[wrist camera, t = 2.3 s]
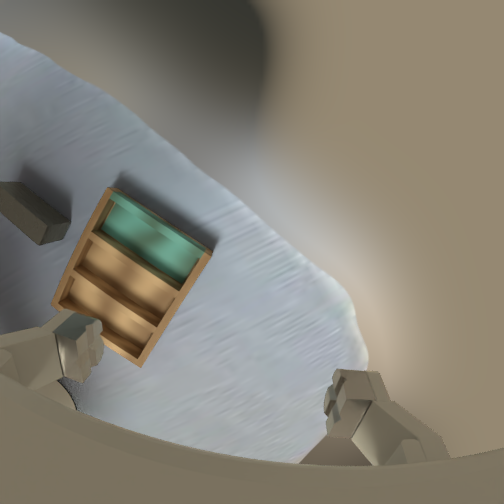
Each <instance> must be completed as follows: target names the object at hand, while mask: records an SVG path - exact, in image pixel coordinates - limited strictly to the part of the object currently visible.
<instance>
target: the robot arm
mask: <svg viewBox="0 0 504 504" xmlns="http://www.w3.org/2000/svg"><path fill="white" fill-rule="evenodd" d="M102 331H103V329H102V322H101V321H100V320H99V319H96V318H93V317H90V316H87V315H84V314H81V313H78V312H75V311H72V310H69V309H63V310H62V311H60V312H59V313H58V314H57V315H55V316H54V317H53V318H52V319H51V320H49V321H48V322H47V323H46V324H45V325H43V326H42V327H41V328H40V327H34V328H29V329H25V330H21V331H16V332H12V333H7V334H3V335H0V504H504V448H500V449H497V450H492V451H488V452H484V453H479V454H474V455H469V456H463V457H457V458H450V456H449V453H448V451H447V449H446V446H445V444H444V442H443V440H442V438H441V436H440V435H438V434H437V433H436V432H434V431H433V430H432V429H430V428H429V427H428V426H426V425H425V424H424V423H422V422H421V421H420V420H418V419H417V418H416V417H414V416H413V415H412V414H410V413H409V412H408V411H407V410H405V409H404V408H403V407H401V406H400V405H399V404H397V403H396V402H395V401H391V400H390V398H389V395H388V393H387V390H386V388H385V385H384V383H383V380H382V378H381V375H380V373H378V372H377V371H357V370H346V369H336V370H335V372H334V374H333V377H332V380H333V384H332V385H331V386H330V387H328V389H327V392H326V394H325V399H324V413H325V414H326V415H327V416H328V419H327V421H326V428H327V435H328V436H329V437H340V438H352V441H353V442H354V443H355V445H356V446H357V447H358V448H359V449H360V451H361V452H362V453H363V454H364V455H365V457H366V458H367V459H368V460H369V461H370V462H371V463H372V465H373V466H325V465H306V464H293V463H282V462H273V461H265V460H257V459H250V458H243V457H237V456H231V455H226V454H220V453H215V452H210V451H205V450H201V449H196V448H192V447H188V446H183V445H179V444H175V443H172V442H168V441H164V440H161V439H157V438H154V437H150V436H147V435H143V434H140V433H137V432H134V431H131V430H128V429H125V428H122V427H119V426H116V425H113V424H110V423H107V422H105V421H102V420H99V419H97V418H94V417H91V416H89V415H86V414H84V413H81V412H79V411H77V410H76V408H75V405H74V403H73V401H72V399H71V397H70V395H69V394H68V392H67V391H66V390H65V389H64V387H63V386H62V385H61V384H60V383H59V382H58V381H57V380H58V379H60V378H62V377H63V376H65V377H67V378H70V379H73V380H75V381H78V382H81V383H84V381H85V380H86V379H87V377H88V376H89V375H90V374H91V367H93V366H96V365H98V363H99V362H100V360H101V358H102V355H103V351H104V341H103V340H102V338H101V336H100V335H99V334H100V333H101V332H102Z"/></svg>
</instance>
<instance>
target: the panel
mask: <svg viewBox="0 0 504 504" xmlns="http://www.w3.org/2000/svg"><path fill="white" fill-rule="evenodd" d="M0 212H1V213H2V214H3V215H4V216H5V217H7V218H8V219H9V220H10V221H11V222H12V223H13V224H14V225H15V226H17V227H18V228H19V229H20V230H21V231H22V232H23V233H25V234H26V235H27V236H28V237H29V238H30V239H32V240H33V241H34V242H35V243H36V244H38V245H39V246H40V245H43V244H47V243H50V242H54V241H58V240H62V239H63V238H64V236H65V234H66V232H67V230H68V228H69V225H70V223H71V221H69V220H68V219H67V218H65V217H64V216H63V215H62V214H60V213H59V212H58V211H56V210H55V209H54V208H52V207H51V206H50V205H49V204H47V203H46V202H45V201H44V200H42V199H41V198H40V197H38V196H37V195H36V194H35V193H34V192H32V191H31V190H30V189H29V188H27V187H26V186H25V185H24V184H22V183H21V182H0Z"/></svg>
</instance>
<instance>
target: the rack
mask: <svg viewBox="0 0 504 504" xmlns="http://www.w3.org/2000/svg"><path fill="white" fill-rule="evenodd" d="M212 253H213V251H211V250H210V249H208V248H207V247H205V246H204V245H202V244H201V243H199V242H198V241H196V240H195V239H193V238H192V237H190V236H189V235H187V234H185V233H184V232H182V231H181V230H179V229H178V228H176V227H175V226H173V225H172V224H170V223H169V222H167V221H166V220H164V219H163V218H161V217H160V216H158V215H157V214H155V213H154V212H152V211H151V210H149V209H148V208H146V207H145V206H143V205H142V204H140V203H139V202H137V201H136V200H134V199H133V198H131V197H130V196H128V195H127V194H125V193H124V192H123V191H121V190H120V189H118V188H109V187H107V189H106V191H105V192H104V194H103V196H102V198H101V199H100V201H99V203H98V205H97V207H96V209H95V210H94V212H93V214H92V216H91V218H90V220H89V222H88V224H87V226H86V228H85V230H84V232H83V234H82V236H81V238H80V240H79V242H78V244H77V246H76V248H75V250H74V252H73V254H72V256H71V258H70V261H69V263H68V265H67V267H66V269H65V272H64V274H63V276H62V278H61V281H60V283H59V285H58V288H57V290H56V293H55V295H54V298H53V300H52V303H51V305H52V306H53V307H54V308H55V309H57V310H58V311H59V312H60V311H62V310H63V309H69V310H72V311H75V312H78V313H81V314H84V315H87V316H90V317H93V318H96V319H99V320H100V321H101V322H102V329H103V331H102V332H101V333H100V334H99V335H100V336H101V338H102V340H103V341H104V344H105V345H106V346H108V347H109V348H111V349H112V350H114V351H115V352H117V353H118V354H120V355H121V356H123V357H124V358H126V359H127V360H129V361H131V362H132V363H134V364H135V365H137V366H139V367H140V368H141V367H142V365H143V364H144V362H145V360H146V359H147V357H148V356H149V354H150V352H151V351H152V349H153V347H154V346H155V344H156V343H157V341H158V339H159V338H160V336H161V335H162V333H163V331H164V330H165V328H166V327H167V325H168V323H169V322H170V320H171V319H172V317H173V316H174V314H175V312H176V311H177V309H178V308H179V306H180V304H181V303H182V301H183V300H184V298H185V297H186V295H187V294H188V292H189V290H190V289H191V287H192V286H193V284H194V283H195V281H196V280H197V278H198V276H199V275H200V273H201V272H202V270H203V269H204V267H205V266H206V264H207V263H208V261H209V260H210V258H211V256H212Z"/></svg>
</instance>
